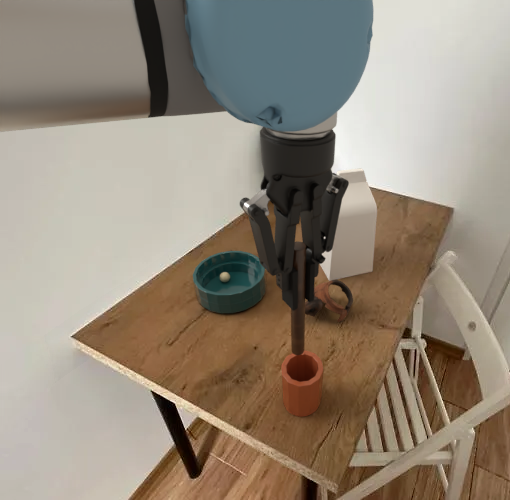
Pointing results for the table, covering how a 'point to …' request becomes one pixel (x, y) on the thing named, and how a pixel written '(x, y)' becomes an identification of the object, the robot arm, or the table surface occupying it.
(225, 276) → the bead
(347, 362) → the table surface
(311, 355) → the crock
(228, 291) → the bowl
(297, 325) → the stirring stick
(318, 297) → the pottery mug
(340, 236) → the milk
